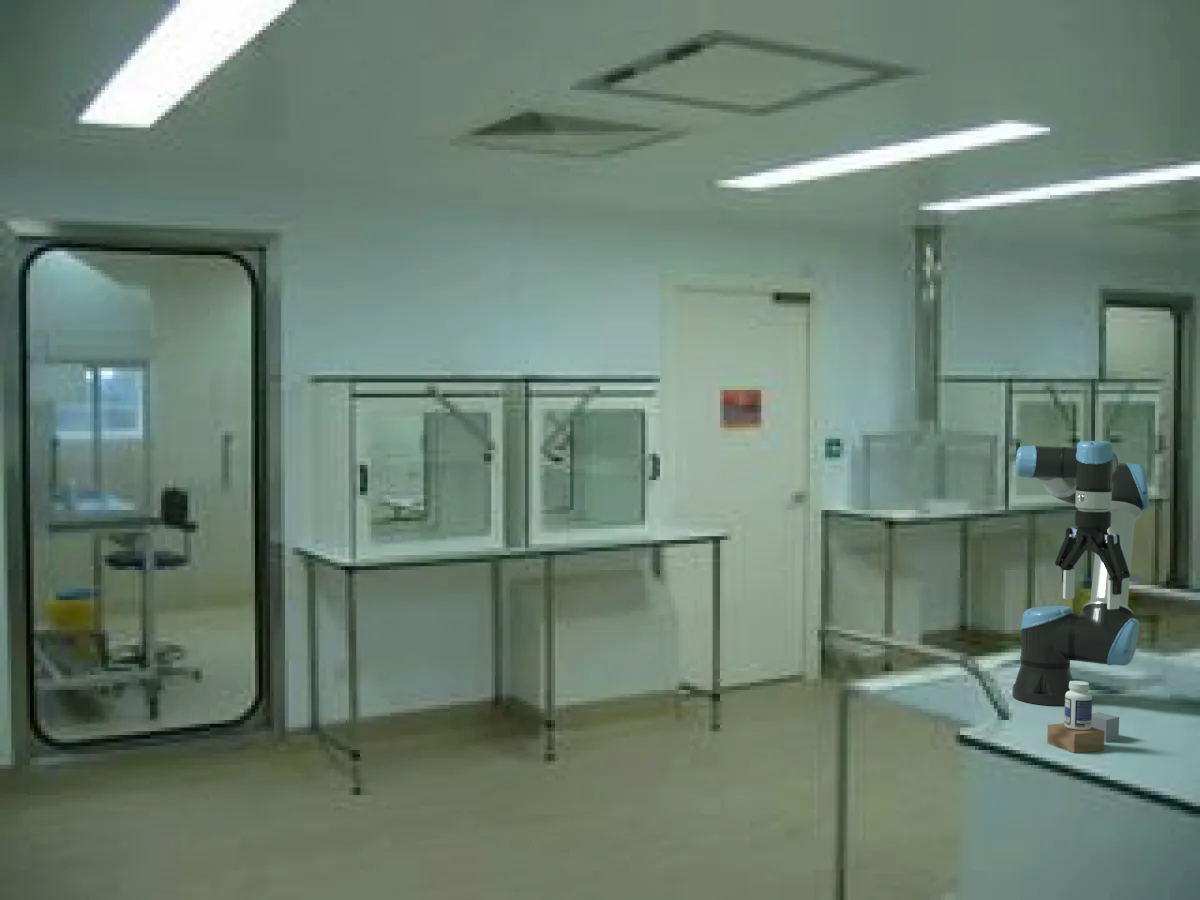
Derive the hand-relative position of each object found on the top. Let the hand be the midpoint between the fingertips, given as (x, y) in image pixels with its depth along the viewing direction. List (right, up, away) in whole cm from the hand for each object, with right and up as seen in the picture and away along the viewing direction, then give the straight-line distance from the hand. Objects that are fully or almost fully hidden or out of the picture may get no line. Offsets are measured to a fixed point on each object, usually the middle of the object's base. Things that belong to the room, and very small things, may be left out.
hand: (1090, 603), depth 271 cm
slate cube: (0, -29, -6) cm, 30 cm away
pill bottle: (-8, -25, -13) cm, 30 cm away
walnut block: (-9, -29, -14) cm, 33 cm away
